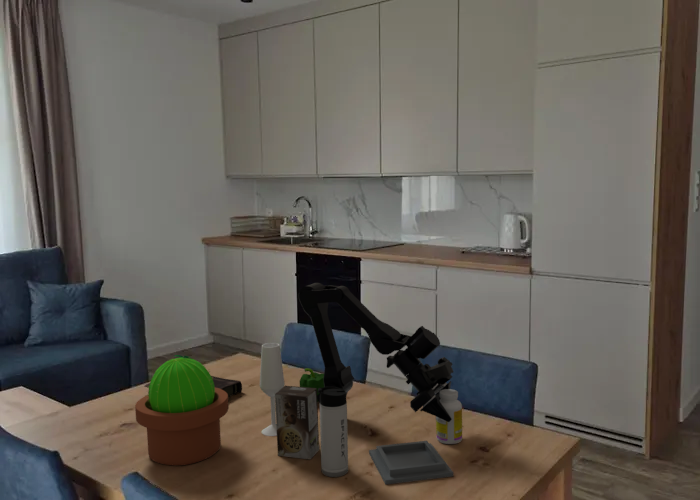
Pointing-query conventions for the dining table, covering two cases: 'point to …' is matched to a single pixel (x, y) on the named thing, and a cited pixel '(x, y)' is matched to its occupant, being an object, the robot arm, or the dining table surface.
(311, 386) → the bell pepper
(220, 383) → the diary
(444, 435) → the supplement bottle
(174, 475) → the dining table surface
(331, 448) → the travel mug
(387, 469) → the holder board
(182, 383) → the potted cactus
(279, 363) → the champagne flute
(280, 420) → the cookie box
